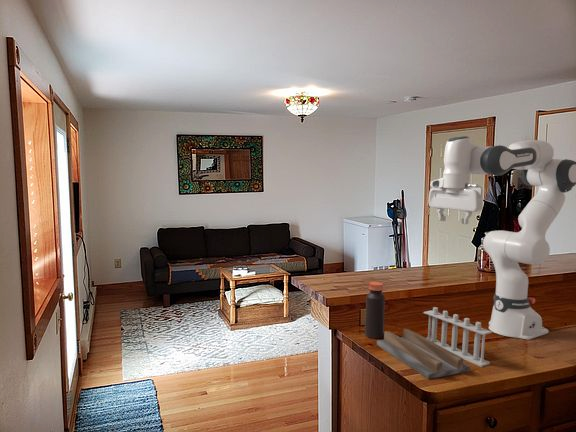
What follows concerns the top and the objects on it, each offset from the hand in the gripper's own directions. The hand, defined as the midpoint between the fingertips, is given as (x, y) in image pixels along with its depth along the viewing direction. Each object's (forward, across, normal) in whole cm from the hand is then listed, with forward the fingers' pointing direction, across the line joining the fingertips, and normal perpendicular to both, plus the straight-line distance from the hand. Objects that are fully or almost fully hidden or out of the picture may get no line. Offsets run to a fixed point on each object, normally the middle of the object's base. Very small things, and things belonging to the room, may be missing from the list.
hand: (453, 222), depth 162 cm
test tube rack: (+44, -7, +5) cm, 45 cm away
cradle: (+44, -4, +19) cm, 48 cm away
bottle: (+44, +18, +18) cm, 51 cm away
